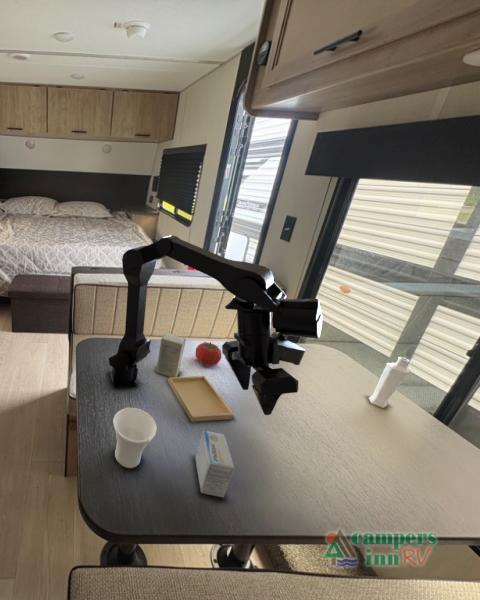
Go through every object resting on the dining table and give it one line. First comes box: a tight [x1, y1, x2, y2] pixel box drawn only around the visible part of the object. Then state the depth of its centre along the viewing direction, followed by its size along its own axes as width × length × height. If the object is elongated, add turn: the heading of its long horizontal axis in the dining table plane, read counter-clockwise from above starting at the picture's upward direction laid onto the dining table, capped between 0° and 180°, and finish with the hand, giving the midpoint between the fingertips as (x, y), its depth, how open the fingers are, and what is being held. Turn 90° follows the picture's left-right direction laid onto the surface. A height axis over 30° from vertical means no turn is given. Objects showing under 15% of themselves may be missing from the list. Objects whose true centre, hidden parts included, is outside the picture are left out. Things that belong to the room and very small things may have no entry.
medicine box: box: [194, 430, 235, 498], centre depth 60 cm, size 8×4×9 cm, turn 168°
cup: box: [112, 407, 158, 469], centre depth 63 cm, size 9×9×10 cm
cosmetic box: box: [155, 332, 187, 378], centre depth 91 cm, size 6×4×12 cm
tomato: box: [195, 341, 222, 367], centre depth 97 cm, size 8×8×8 cm
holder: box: [167, 375, 235, 423], centre depth 83 cm, size 11×15×2 cm
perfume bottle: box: [368, 356, 412, 409], centre depth 82 cm, size 5×4×15 cm
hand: (255, 401), depth 63 cm, fingers open, 9 cm apart
